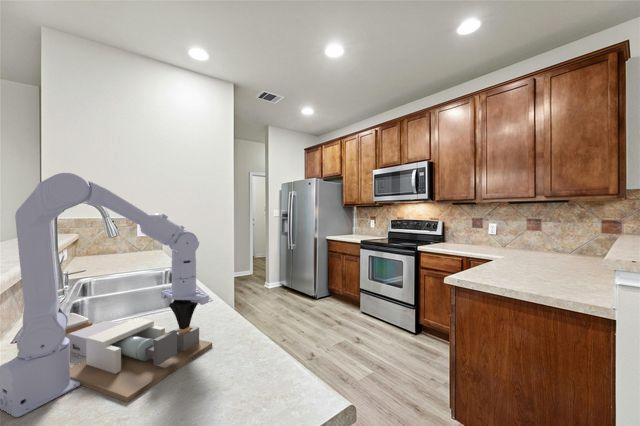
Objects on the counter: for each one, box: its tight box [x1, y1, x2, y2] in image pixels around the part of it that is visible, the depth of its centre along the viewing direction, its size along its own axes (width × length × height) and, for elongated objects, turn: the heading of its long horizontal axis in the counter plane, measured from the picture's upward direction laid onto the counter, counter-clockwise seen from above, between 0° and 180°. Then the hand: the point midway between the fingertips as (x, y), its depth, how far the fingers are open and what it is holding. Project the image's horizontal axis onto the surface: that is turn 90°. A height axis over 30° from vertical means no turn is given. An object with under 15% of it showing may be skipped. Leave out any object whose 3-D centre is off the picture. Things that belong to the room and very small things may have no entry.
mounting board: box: [70, 331, 213, 403], centre depth 64 cm, size 22×22×1 cm
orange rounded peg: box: [179, 327, 190, 333], centre depth 69 cm, size 2×2×4 cm
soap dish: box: [65, 312, 94, 337], centre depth 76 cm, size 12×10×5 cm
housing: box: [85, 317, 200, 374], centre depth 66 cm, size 17×16×6 cm
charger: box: [66, 320, 129, 357], centre depth 74 cm, size 5×9×15 cm
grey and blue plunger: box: [110, 329, 177, 366], centre depth 63 cm, size 5×17×7 cm, turn 69°
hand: (184, 327), depth 69 cm, fingers closed, pressing on orange rounded peg
